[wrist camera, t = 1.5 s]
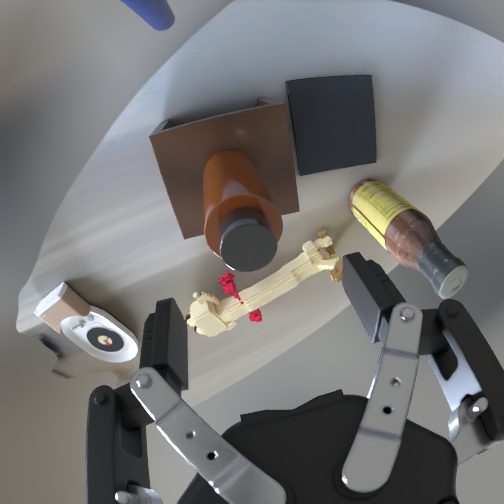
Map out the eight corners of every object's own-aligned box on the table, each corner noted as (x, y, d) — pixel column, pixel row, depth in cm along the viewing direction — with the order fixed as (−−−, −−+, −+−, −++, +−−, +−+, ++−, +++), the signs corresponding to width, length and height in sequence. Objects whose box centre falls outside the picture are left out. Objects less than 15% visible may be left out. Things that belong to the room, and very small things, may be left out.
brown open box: (161, 122, 29) (148, 136, 22) (266, 96, 29) (284, 103, 22) (187, 205, 35) (184, 239, 29) (280, 182, 35) (299, 211, 29)
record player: (63, 290, 36) (149, 357, 47) (68, 277, 38) (150, 344, 50) (31, 317, 38) (110, 374, 49) (36, 304, 40) (111, 361, 52)
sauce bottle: (380, 213, 40) (461, 304, 24) (344, 217, 40) (420, 318, 24) (386, 173, 37) (484, 254, 21) (348, 175, 36) (443, 265, 20)
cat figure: (312, 211, 40) (167, 300, 42) (341, 243, 33) (168, 343, 35) (333, 258, 46) (205, 333, 48) (360, 292, 38) (212, 374, 41)
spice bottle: (197, 157, 24) (193, 223, 14) (250, 144, 24) (286, 200, 14) (210, 204, 27) (217, 291, 17) (260, 191, 27) (295, 271, 17)
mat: (285, 81, 28) (286, 81, 28) (369, 75, 28) (371, 75, 28) (299, 174, 35) (300, 176, 35) (374, 161, 35) (376, 162, 35)
